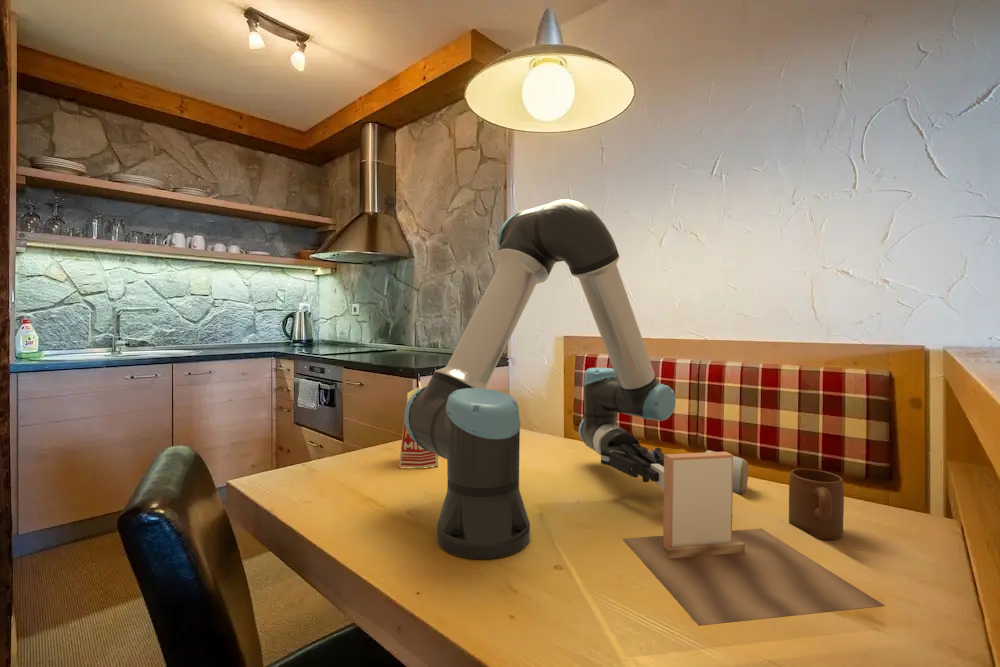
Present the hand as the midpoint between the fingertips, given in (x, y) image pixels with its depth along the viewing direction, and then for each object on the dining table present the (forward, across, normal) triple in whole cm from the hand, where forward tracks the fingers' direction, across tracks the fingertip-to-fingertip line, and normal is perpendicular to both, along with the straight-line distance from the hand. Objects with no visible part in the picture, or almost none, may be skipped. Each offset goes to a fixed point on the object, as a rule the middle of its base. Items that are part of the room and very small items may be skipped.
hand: (673, 483), depth 77 cm
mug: (+4, -23, -9) cm, 25 cm away
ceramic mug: (-18, -22, -9) cm, 30 cm away
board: (+13, -2, -8) cm, 16 cm away
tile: (+7, 0, -7) cm, 10 cm away
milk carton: (-45, +42, -8) cm, 62 cm away
